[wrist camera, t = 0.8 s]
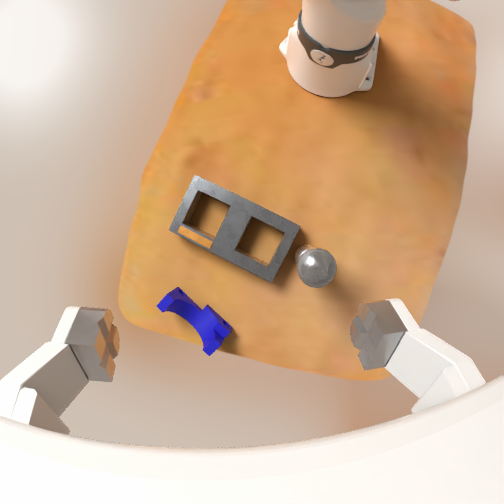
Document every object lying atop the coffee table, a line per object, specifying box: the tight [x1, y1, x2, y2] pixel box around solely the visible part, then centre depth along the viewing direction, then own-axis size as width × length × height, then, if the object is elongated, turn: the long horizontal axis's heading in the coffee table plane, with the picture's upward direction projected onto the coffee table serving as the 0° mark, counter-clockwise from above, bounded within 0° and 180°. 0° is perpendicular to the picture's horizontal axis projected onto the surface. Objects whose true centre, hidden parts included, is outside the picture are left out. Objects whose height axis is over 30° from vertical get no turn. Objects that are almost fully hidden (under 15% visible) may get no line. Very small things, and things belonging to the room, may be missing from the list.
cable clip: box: [157, 287, 232, 356], centre depth 50 cm, size 12×4×6 cm, turn 47°
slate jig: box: [169, 175, 300, 283], centre depth 49 cm, size 10×19×4 cm, turn 64°
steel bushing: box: [295, 245, 336, 288], centre depth 44 cm, size 5×5×13 cm
